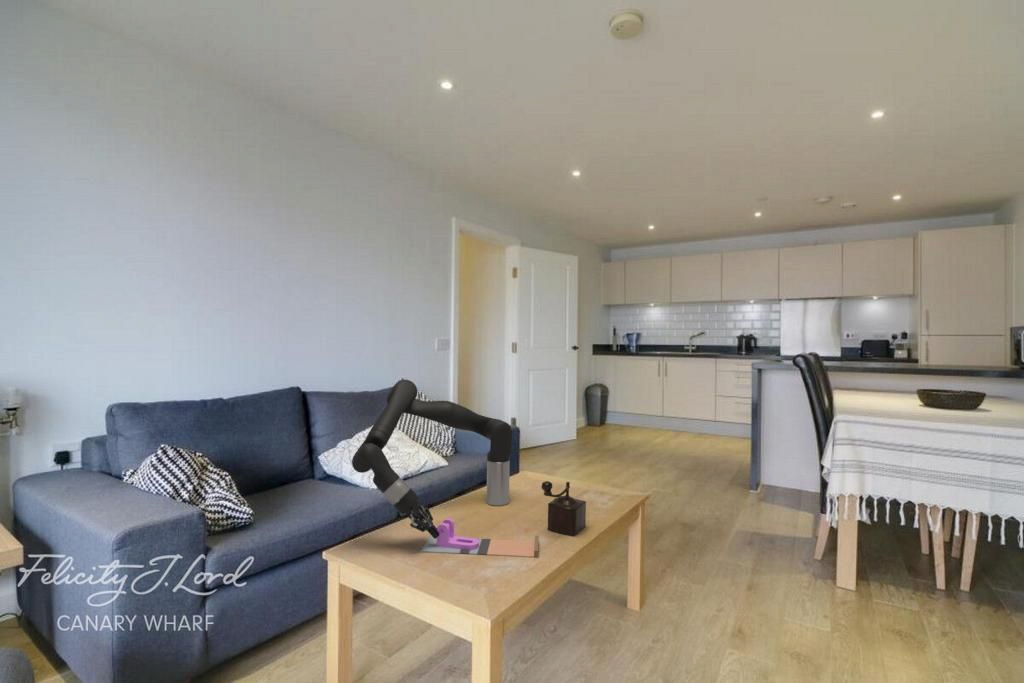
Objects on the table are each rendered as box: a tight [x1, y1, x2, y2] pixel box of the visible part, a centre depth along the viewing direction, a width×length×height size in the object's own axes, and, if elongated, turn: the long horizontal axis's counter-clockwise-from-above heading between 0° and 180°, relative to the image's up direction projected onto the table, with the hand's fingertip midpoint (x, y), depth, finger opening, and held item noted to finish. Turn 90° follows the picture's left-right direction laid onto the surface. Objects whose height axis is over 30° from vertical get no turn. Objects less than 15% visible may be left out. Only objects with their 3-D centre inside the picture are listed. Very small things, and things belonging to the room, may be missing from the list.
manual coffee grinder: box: [540, 480, 587, 537], centre depth 165 cm, size 16×11×18 cm
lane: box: [420, 535, 540, 558], centre depth 152 cm, size 11×36×2 cm, turn 86°
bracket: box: [436, 517, 479, 550], centre depth 152 cm, size 13×6×7 cm, turn 76°
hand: (437, 536), depth 151 cm, fingers closed
